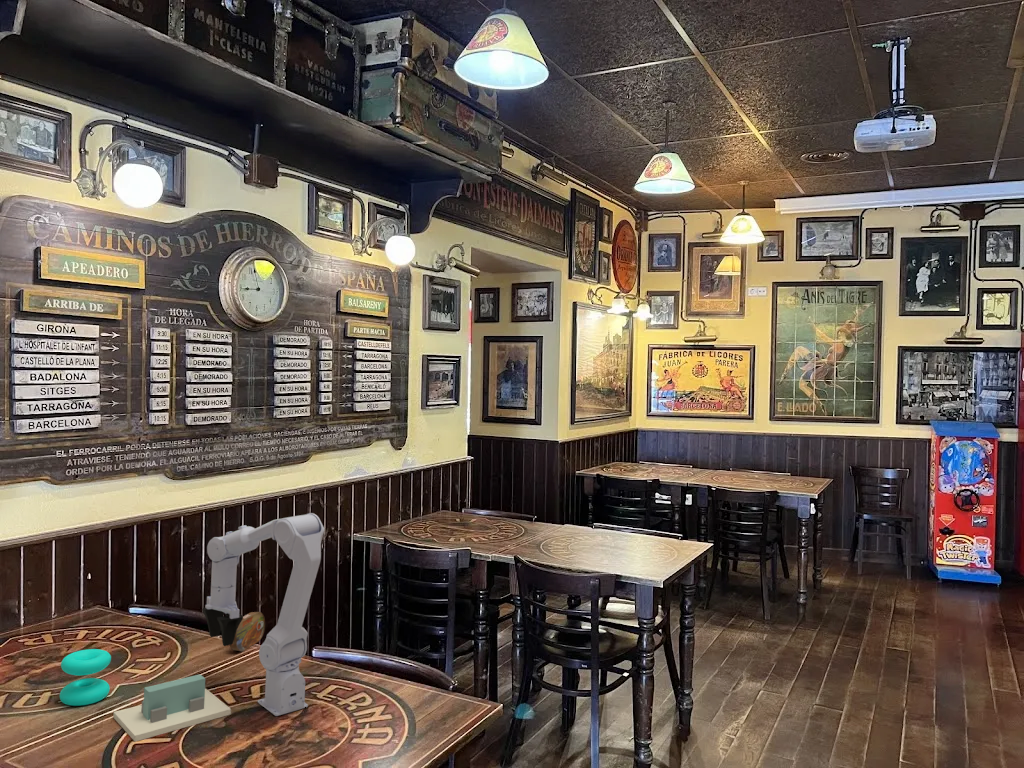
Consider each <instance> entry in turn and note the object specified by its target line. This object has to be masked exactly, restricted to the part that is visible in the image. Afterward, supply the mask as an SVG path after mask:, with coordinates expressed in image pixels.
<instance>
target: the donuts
mask: <svg viewBox="0 0 1024 768" xmlns="http://www.w3.org/2000/svg"><path fill="white" fill-rule="evenodd" d="M111 662H112V655H111V654H110V653H109V652H108V651H107V650H104V649H98V648H90V649H89V648H88V649H81V650H77V651H74V652H72V653H69V654H67V655H66V656H64V657H63V659H62V660H61V662H60V668H61V670H62V671H63V672H64V673H65V674H68V675H69V676H70V675H71V676H77V677H78V676H81V677H82V676H89V675H94V674H97V673H100V672H101V671H103V670H104V669H106V668H107V667H108V666H109V665H110V664H111ZM110 689H111V688H110V684H109V683H108V681H107V680H104V679H102V678H97V677H85V678H80V679H75V680H74V681H72V682H69V683H68V684H67V685H65V686H63V687H62V689H61V690H60V692H59V699H60V701H61V703H62V704H65V705H68V706H72V707H81V706H87V705H91V704H95V703H98V702H100V701H102V700H103V699H105V698H106V697H107V696H108V695H109V693H110V691H111V690H110Z"/></svg>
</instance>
